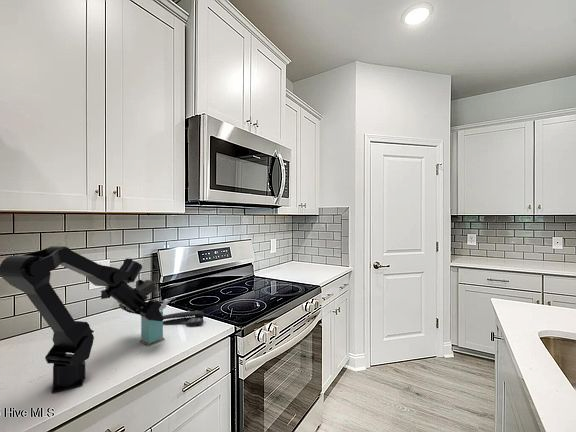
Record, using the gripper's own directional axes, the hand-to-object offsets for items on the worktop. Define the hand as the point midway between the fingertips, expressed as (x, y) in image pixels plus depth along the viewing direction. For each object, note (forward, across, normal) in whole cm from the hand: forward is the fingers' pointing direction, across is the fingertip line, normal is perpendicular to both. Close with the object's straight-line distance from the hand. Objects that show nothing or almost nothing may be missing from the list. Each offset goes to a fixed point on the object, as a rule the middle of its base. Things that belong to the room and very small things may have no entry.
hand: (155, 317), depth 106 cm
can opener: (+17, +5, -5) cm, 18 cm away
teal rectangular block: (+4, 0, +6) cm, 8 cm away
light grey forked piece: (+16, +20, -4) cm, 26 cm away
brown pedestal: (+5, 0, +7) cm, 8 cm away
